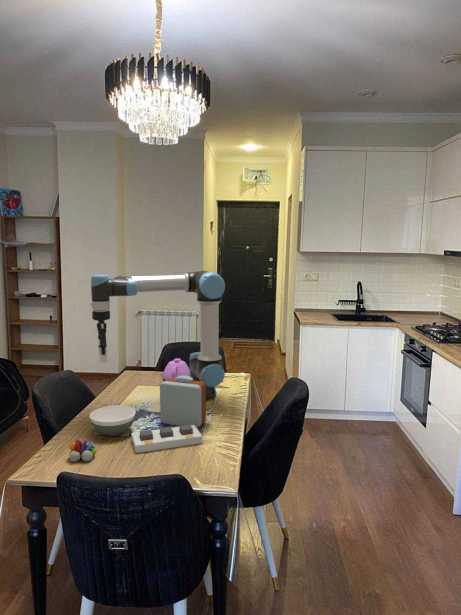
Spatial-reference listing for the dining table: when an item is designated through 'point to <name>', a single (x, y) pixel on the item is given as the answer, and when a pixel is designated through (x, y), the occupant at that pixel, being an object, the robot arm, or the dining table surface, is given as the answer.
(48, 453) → the dining table surface
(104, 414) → the bowl
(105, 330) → the robot arm
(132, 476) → the dining table surface
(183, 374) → the pink cap
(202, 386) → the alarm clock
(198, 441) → the board
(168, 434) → the button middle
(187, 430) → the button
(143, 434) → the button
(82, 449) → the rainbow disc toy
